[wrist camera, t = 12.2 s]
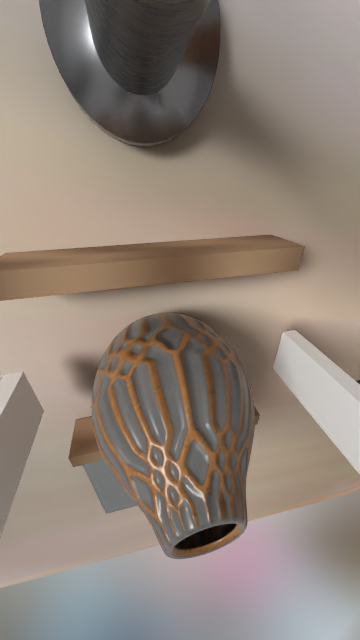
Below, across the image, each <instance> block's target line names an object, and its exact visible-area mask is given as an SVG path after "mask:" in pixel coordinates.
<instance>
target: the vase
mask: <svg viewBox="0 0 360 640" xmlns="http://www.w3.org/2000/svg"><path fill="white" fill-rule="evenodd" d="M91 408H92V422H93V428H94V433H95V437H96V441H97V445H98V448H99V451H100V453H101V456H102V458H103V460H104V462H105V464H106V466H107V468H108V469H109V471H110V472H111V474H112V475H113V476H114V478H115V479H116V480H117V482H118V483H119V484H120V485H121V486H122V488H123V489H124V490H125V491H126V492H127V494H128V495H129V496H130V497H131V498H132V499H133V501H134V502H135V503H136V504H137V505H138V506H139V508H140V509H141V510H142V511H143V512H144V514H145V515H146V517H147V519H148V520H149V522H150V524H151V526H152V528H153V530H154V532H155V534H156V536H157V538H158V541H159V543H160V545H161V547H162V549H163V551H164V553H165V554H166V555H167V556H168V557H170V558H174V559H186V558H192V557H196V556H200V555H204V554H207V553H210V552H212V551H215V550H217V549H219V548H221V547H224V546H225V545H227V544H229V543H231V542H232V541H234V540H235V539H237V538H238V537H239V536H240V535H241V534H242V533H243V532H244V531H245V529H246V527H247V507H246V477H247V470H248V465H249V460H250V454H251V449H252V442H253V436H254V429H255V410H254V402H253V396H252V392H251V388H250V384H249V381H248V378H247V375H246V373H245V371H244V368H243V366H242V364H241V362H240V361H239V359H238V357H237V356H236V354H235V353H234V351H233V350H232V348H231V347H230V346H229V345H228V343H227V342H226V341H225V340H224V339H223V338H222V336H221V335H219V334H218V333H217V332H216V331H215V330H213V329H212V328H211V327H210V326H208V325H206V324H205V323H203V322H201V321H199V320H197V319H195V318H193V317H190V316H186V315H183V314H177V313H159V314H154V315H150V316H147V317H144V318H141V319H139V320H137V321H135V322H133V323H132V324H130V325H129V326H127V327H126V328H125V329H124V330H123V331H121V332H120V333H119V334H118V335H117V336H116V337H115V339H114V340H113V341H112V342H111V344H110V345H109V347H108V348H107V350H106V351H105V353H104V355H103V357H102V359H101V361H100V364H99V366H98V369H97V373H96V377H95V381H94V387H93V392H92V405H91Z"/></svg>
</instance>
